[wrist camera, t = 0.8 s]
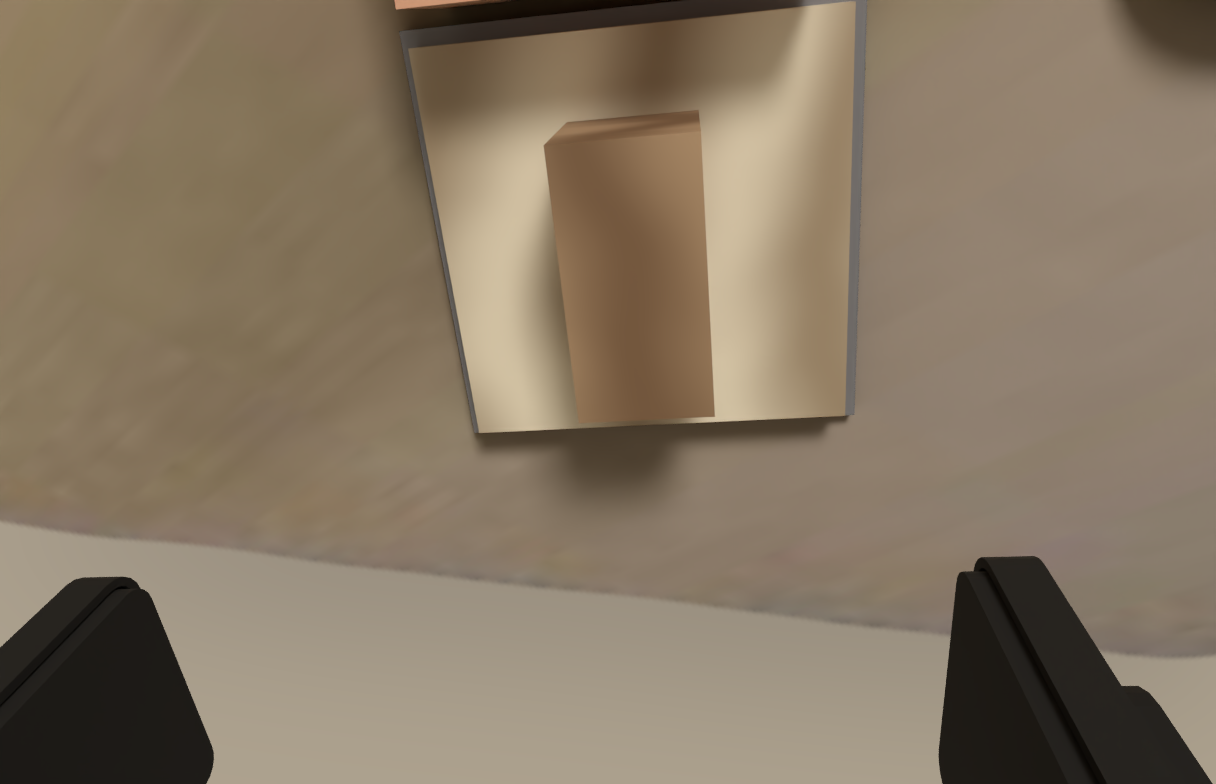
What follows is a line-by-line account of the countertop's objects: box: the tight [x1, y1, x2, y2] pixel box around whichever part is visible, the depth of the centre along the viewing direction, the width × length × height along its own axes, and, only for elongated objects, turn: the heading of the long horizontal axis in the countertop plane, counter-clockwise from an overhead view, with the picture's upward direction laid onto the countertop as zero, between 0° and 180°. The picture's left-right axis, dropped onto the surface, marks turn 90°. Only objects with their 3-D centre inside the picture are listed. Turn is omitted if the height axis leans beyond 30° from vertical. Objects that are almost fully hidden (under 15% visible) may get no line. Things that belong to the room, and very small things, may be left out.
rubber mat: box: [399, 0, 867, 433], centre depth 28 cm, size 14×14×1 cm
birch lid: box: [408, 1, 856, 433], centre depth 25 cm, size 13×13×6 cm
